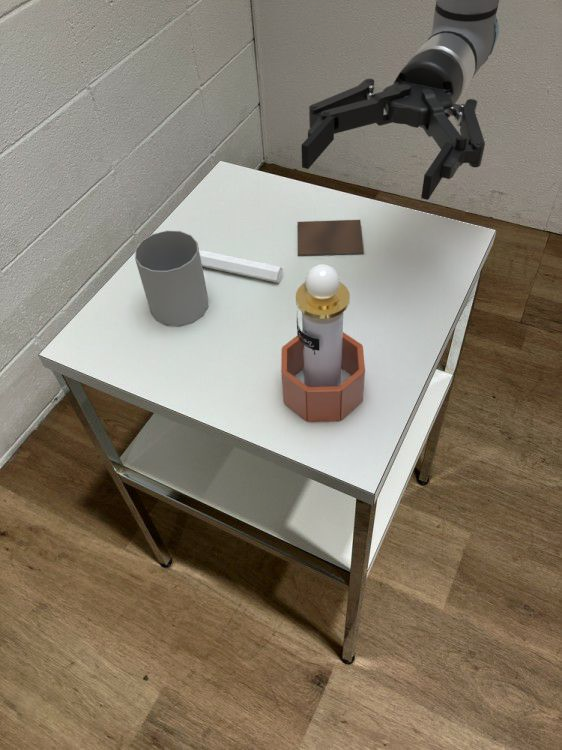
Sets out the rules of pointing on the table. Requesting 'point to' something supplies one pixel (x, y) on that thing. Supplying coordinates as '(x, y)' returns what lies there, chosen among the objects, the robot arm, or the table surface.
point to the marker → (241, 266)
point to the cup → (172, 277)
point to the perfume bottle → (322, 325)
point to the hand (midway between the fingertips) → (363, 172)
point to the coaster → (330, 238)
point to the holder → (323, 400)
